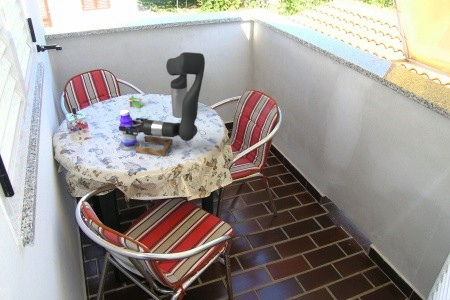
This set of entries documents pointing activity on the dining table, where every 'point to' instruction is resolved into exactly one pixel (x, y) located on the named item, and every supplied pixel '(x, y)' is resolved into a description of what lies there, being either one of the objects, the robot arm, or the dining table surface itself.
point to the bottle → (127, 122)
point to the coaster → (130, 147)
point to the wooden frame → (155, 151)
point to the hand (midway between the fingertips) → (122, 124)
